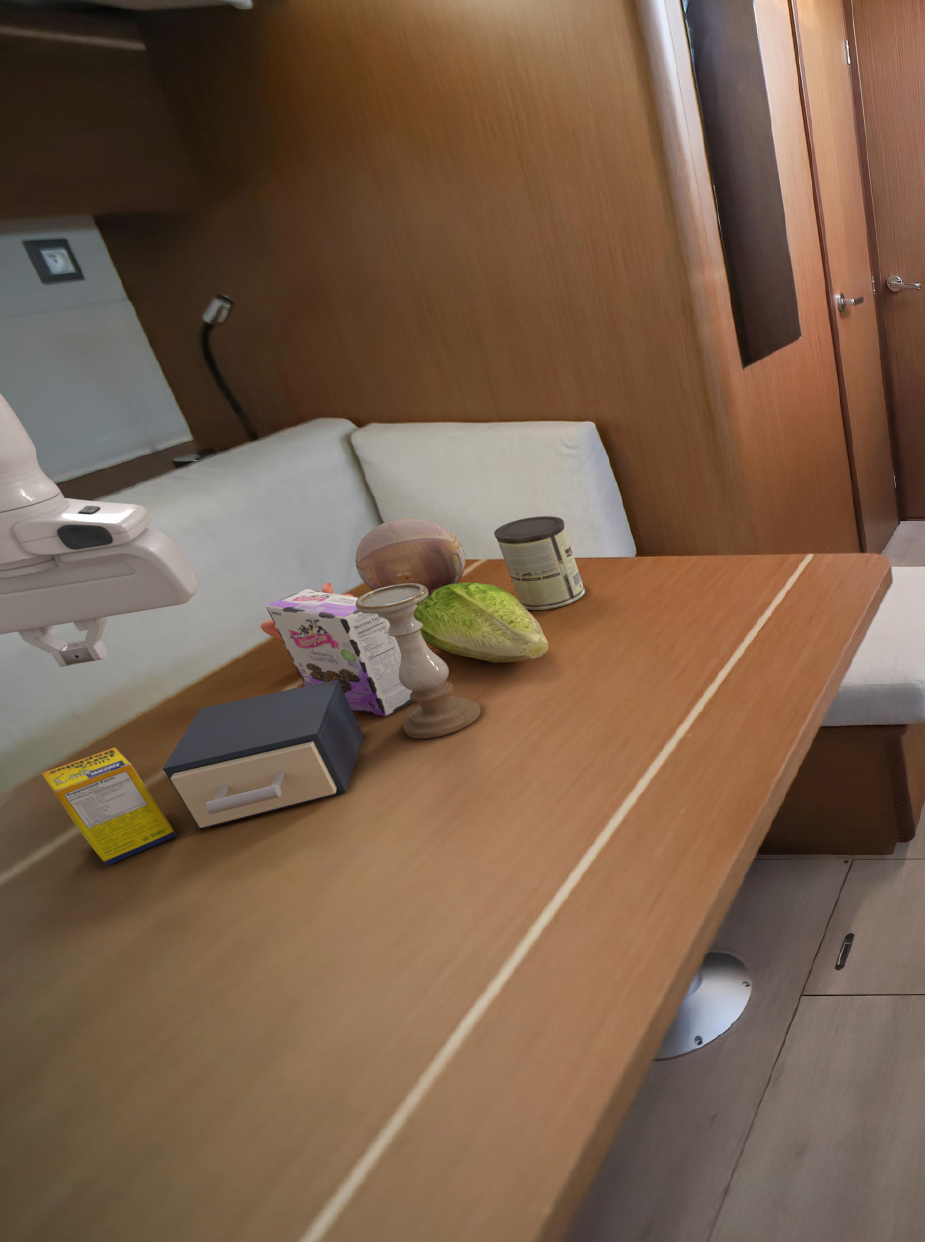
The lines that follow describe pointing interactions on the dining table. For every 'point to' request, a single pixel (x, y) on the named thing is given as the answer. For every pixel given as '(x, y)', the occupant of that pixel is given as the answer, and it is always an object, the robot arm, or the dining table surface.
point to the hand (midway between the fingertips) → (85, 660)
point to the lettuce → (480, 623)
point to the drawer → (254, 783)
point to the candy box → (342, 649)
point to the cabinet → (274, 732)
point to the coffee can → (540, 562)
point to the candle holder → (419, 664)
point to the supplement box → (109, 805)
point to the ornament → (410, 555)
